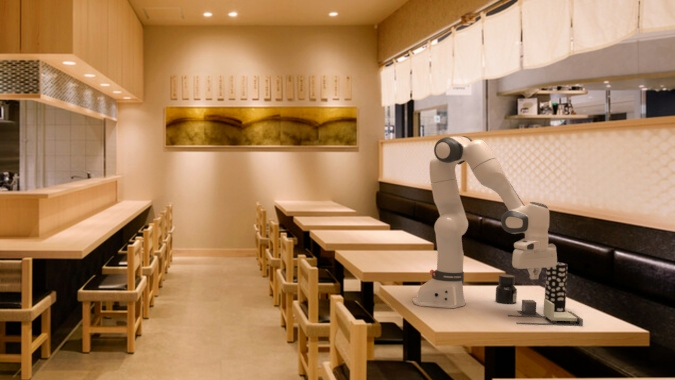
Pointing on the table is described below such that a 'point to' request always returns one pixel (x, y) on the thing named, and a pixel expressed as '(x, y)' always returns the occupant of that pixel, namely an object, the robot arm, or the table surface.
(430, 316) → the table surface
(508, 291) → the ink bottle
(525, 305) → the steel block
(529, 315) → the station pad
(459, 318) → the table surface
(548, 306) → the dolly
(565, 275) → the white-spotted black cylinder
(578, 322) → the track
